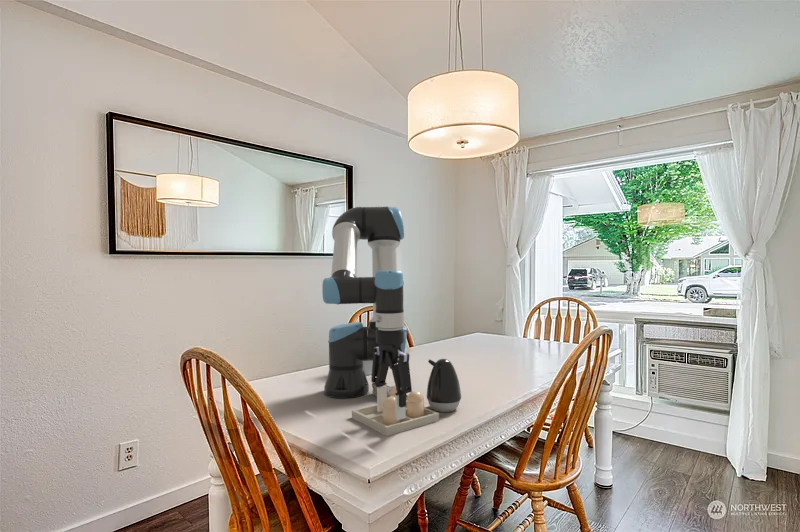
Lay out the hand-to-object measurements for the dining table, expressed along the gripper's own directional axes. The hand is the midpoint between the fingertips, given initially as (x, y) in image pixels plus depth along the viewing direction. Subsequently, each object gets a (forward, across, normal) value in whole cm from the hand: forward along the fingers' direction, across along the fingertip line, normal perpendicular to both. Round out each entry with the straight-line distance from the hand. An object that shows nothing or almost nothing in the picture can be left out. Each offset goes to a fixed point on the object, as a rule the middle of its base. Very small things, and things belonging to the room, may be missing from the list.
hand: (391, 414), depth 118 cm
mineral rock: (+4, -22, +15) cm, 27 cm away
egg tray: (+4, -4, +4) cm, 7 cm away
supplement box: (+4, -57, +29) cm, 64 cm away
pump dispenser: (+4, -2, +21) cm, 21 cm away
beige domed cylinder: (+3, -8, +8) cm, 12 cm away
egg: (+3, 0, 0) cm, 3 cm away
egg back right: (+3, 0, +8) cm, 9 cm away
